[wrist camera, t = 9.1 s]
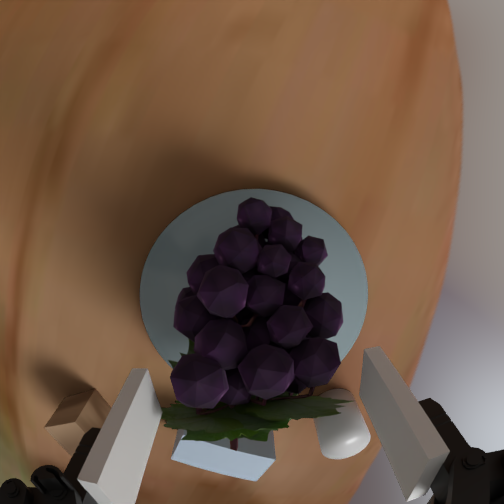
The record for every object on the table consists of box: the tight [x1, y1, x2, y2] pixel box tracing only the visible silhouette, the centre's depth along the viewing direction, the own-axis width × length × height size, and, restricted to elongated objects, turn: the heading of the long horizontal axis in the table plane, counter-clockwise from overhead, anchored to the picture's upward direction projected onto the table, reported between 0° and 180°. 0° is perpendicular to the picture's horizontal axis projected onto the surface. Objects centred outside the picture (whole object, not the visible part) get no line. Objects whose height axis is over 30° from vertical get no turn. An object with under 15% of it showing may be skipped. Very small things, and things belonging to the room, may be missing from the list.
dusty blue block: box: [171, 429, 276, 481], centre depth 23 cm, size 4×8×4 cm, turn 66°
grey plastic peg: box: [313, 389, 370, 459], centre depth 22 cm, size 4×4×5 cm
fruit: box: [161, 197, 353, 451], centre depth 16 cm, size 10×11×15 cm
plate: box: [140, 188, 368, 368], centre depth 21 cm, size 16×16×1 cm
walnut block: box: [44, 389, 111, 456], centre depth 23 cm, size 5×5×5 cm
